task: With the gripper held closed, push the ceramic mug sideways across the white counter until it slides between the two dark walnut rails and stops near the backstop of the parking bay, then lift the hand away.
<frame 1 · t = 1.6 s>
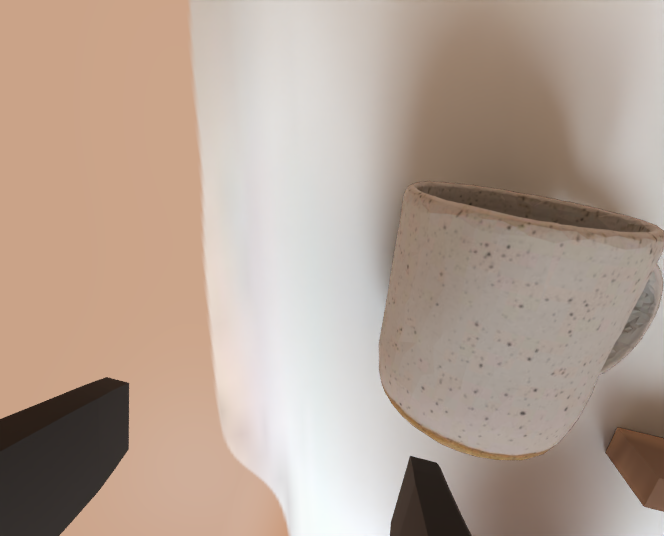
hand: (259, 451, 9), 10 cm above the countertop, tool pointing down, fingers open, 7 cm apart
ceramic mug: (502, 275, 17), on the countertop
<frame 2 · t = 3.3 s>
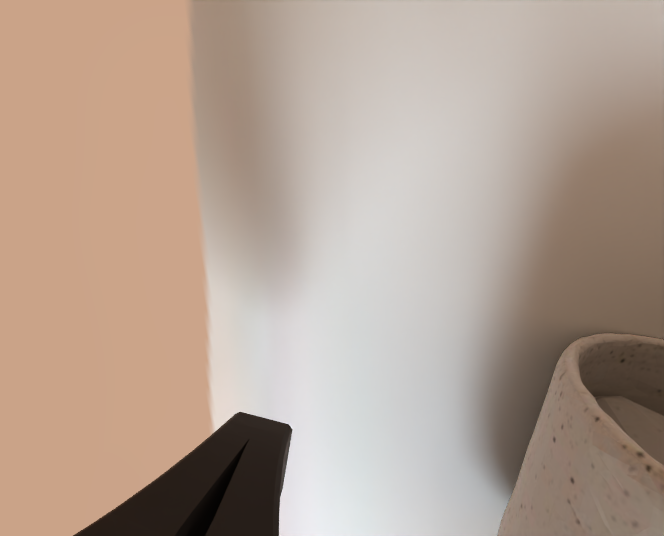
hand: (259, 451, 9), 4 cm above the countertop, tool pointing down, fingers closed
ceramic mug: (651, 446, 12), on the countertop
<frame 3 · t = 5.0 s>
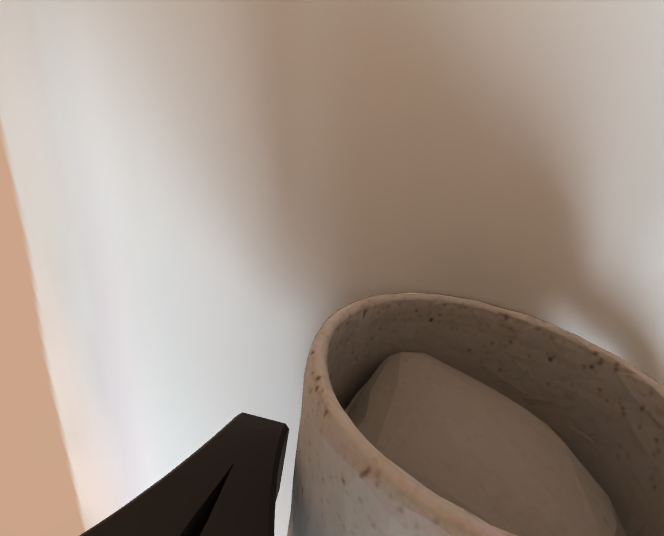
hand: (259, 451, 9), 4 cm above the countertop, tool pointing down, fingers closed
ceramic mug: (477, 406, 12), on the countertop, touching gripper
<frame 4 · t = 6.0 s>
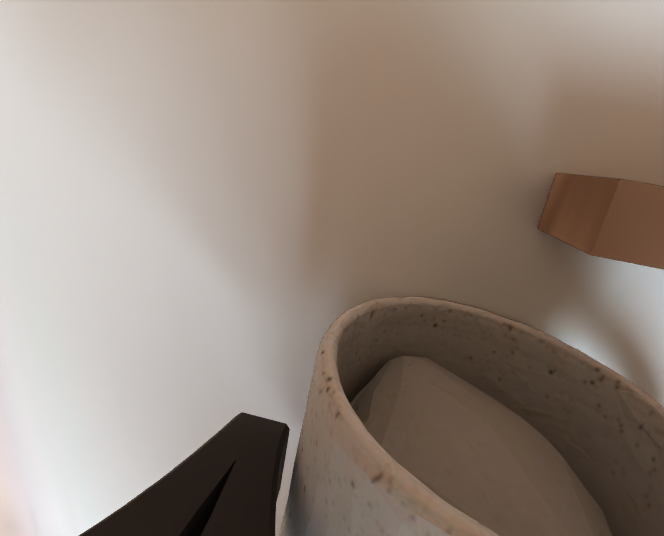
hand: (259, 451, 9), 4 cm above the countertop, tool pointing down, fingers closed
ceramic mug: (473, 413, 12), on the countertop, touching gripper
walnut bay: (622, 445, 12), on the countertop
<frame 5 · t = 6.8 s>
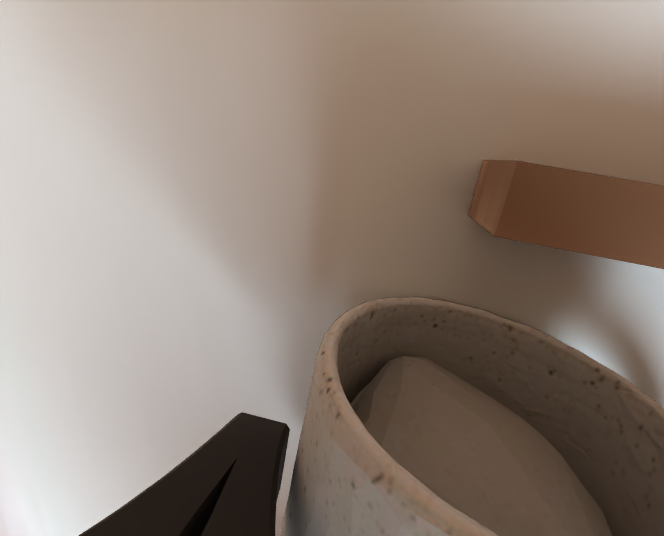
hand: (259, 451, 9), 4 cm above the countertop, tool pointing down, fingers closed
ceramic mug: (473, 414, 12), on the countertop, touching gripper
walnut bay: (560, 430, 12), on the countertop
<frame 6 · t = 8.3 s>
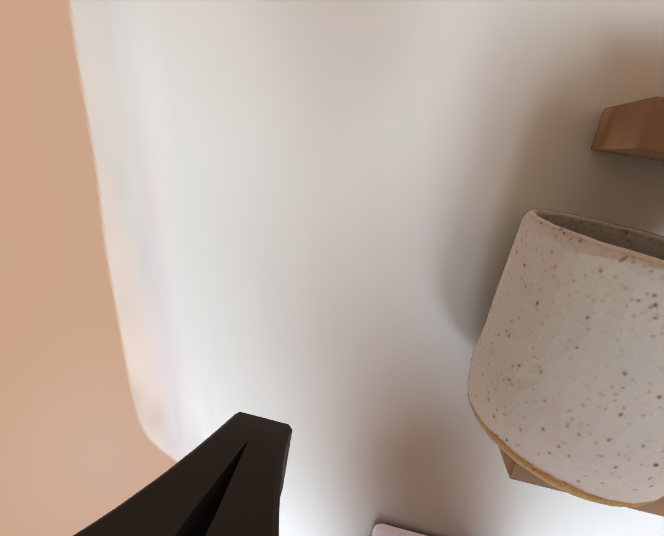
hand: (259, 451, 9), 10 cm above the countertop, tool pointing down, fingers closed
ceramic mug: (587, 306, 17), on the countertop
walnut bay: (650, 312, 16), on the countertop
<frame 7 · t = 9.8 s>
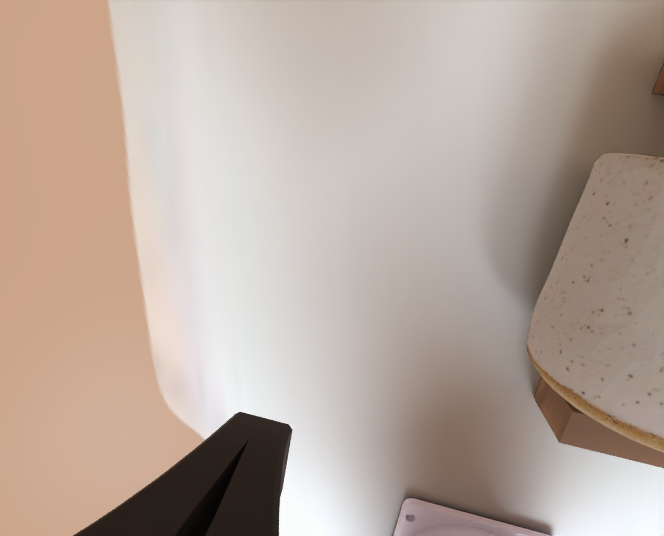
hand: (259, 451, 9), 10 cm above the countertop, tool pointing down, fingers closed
ceramic mug: (648, 266, 16), on the countertop
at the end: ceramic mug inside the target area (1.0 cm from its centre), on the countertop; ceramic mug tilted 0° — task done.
